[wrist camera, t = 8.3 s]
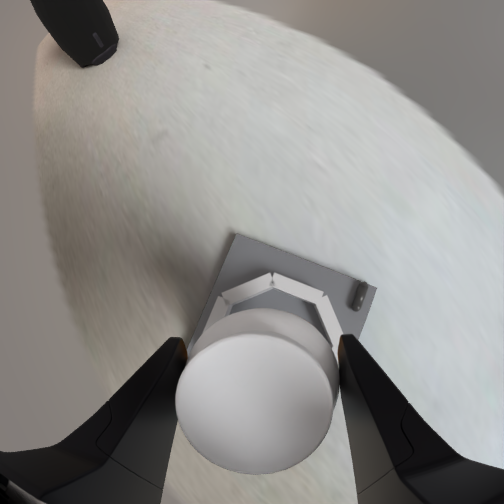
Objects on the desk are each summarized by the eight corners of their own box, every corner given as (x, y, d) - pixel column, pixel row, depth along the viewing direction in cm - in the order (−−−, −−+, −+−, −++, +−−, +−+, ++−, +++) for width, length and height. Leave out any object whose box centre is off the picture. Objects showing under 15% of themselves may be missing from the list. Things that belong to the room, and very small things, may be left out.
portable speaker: (78, 58, 35) (28, -11, 16) (123, 31, 35) (81, -46, 16) (77, 80, 33) (16, 2, 14) (127, 50, 33) (76, -40, 14)
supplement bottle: (260, 293, 16) (227, 257, 7) (337, 346, 15) (402, 379, 6) (205, 366, 16) (116, 412, 6) (280, 419, 15) (272, 520, 5)
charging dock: (306, 442, 20) (308, 454, 17) (174, 387, 22) (163, 393, 20) (373, 289, 22) (383, 285, 20) (238, 236, 24) (233, 227, 22)
